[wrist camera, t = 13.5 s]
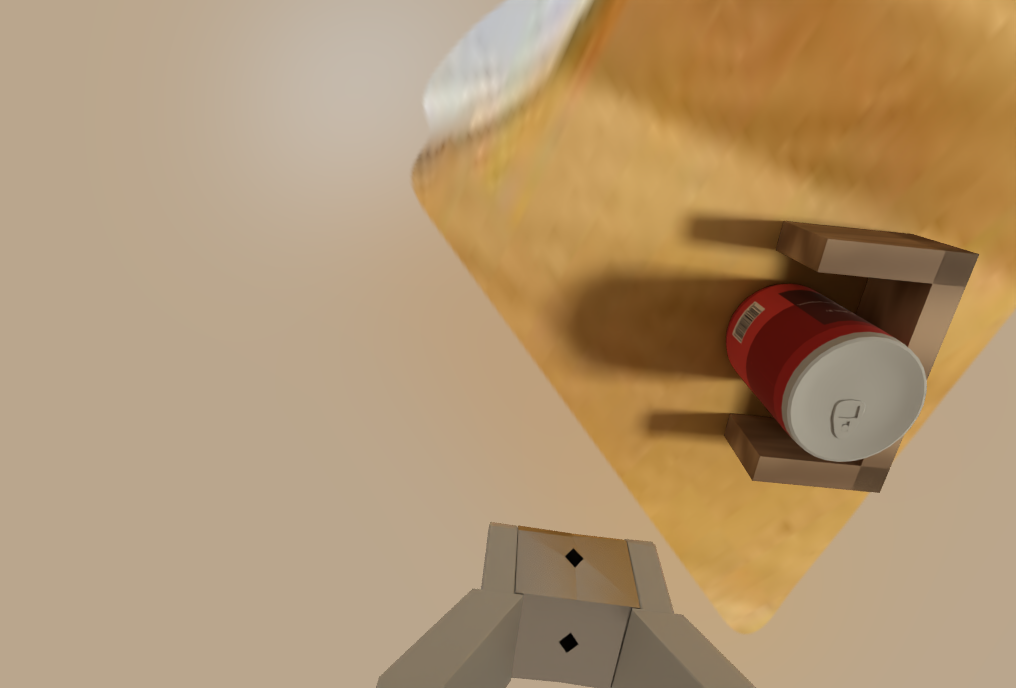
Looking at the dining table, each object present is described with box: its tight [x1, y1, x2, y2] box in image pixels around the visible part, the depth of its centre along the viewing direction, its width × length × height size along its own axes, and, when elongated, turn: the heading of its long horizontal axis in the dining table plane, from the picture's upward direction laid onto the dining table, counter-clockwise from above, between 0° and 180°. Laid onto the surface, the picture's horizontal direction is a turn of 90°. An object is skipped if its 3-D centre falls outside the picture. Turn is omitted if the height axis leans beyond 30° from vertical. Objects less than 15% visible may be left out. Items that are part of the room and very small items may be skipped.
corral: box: [724, 221, 979, 493], centre depth 39 cm, size 17×9×6 cm, turn 174°
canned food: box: [726, 284, 927, 462], centre depth 37 cm, size 8×8×11 cm
